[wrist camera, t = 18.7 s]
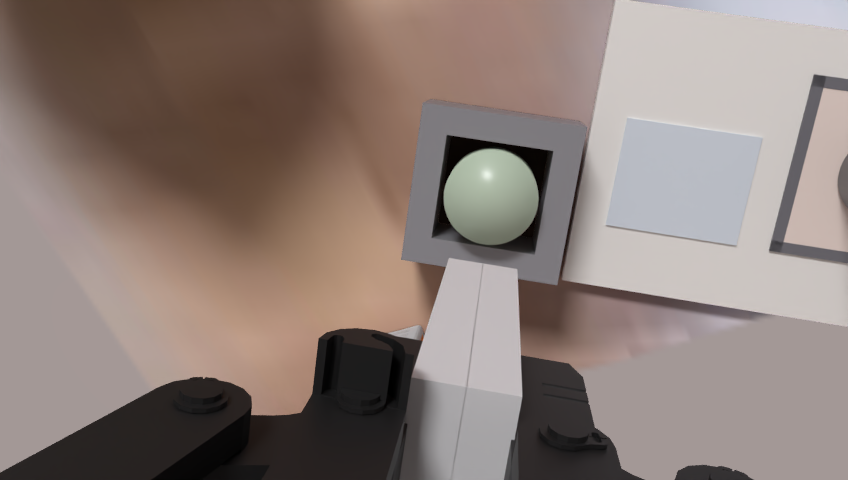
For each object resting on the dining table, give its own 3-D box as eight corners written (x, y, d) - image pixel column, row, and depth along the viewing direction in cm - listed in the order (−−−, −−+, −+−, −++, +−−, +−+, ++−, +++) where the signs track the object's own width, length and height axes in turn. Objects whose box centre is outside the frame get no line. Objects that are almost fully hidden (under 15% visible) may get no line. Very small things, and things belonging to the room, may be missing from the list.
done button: (544, 153, 33) (546, 159, 32) (528, 241, 34) (529, 251, 32) (454, 140, 34) (451, 144, 32) (441, 227, 35) (437, 236, 33)
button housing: (579, 121, 35) (587, 126, 32) (552, 265, 37) (557, 285, 34) (431, 99, 36) (423, 102, 32) (410, 242, 38) (401, 259, 34)
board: (1034, 57, 33) (1046, 56, 32) (944, 339, 36) (953, 344, 35) (614, -1, 34) (616, -2, 33) (561, 276, 37) (562, 280, 36)
